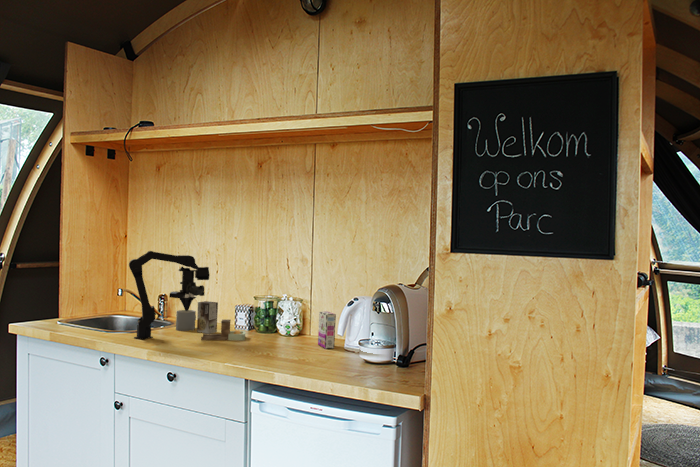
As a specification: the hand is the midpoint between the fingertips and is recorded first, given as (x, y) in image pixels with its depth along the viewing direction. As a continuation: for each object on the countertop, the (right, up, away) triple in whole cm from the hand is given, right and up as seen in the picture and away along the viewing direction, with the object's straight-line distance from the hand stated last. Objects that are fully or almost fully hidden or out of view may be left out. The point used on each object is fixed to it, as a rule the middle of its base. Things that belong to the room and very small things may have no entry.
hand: (186, 310), depth 267 cm
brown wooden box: (+20, -14, -2) cm, 24 cm away
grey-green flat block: (+26, -14, -1) cm, 29 cm away
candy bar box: (+71, -15, -14) cm, 75 cm away
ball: (+26, -12, -1) cm, 29 cm away
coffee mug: (-6, -14, +22) cm, 27 cm away
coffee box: (+6, -14, +14) cm, 21 cm away
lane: (+16, -14, -3) cm, 21 cm away
